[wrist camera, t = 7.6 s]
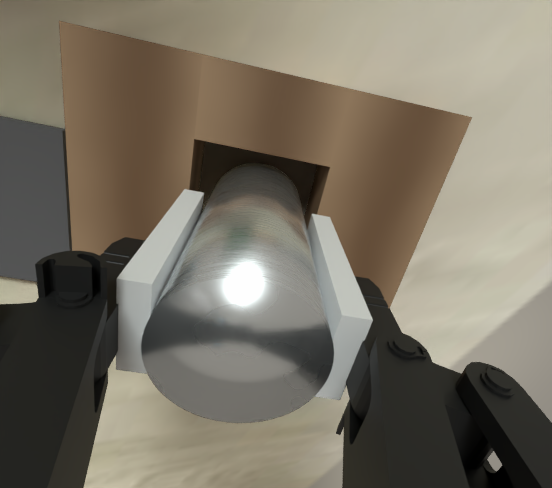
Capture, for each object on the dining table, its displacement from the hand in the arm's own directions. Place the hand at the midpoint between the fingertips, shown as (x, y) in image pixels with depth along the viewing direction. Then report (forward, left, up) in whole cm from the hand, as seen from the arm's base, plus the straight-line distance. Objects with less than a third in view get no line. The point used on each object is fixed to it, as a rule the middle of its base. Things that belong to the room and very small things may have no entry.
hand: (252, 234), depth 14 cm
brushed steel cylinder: (0, 0, -3) cm, 3 cm away
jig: (0, 0, -5) cm, 5 cm away
